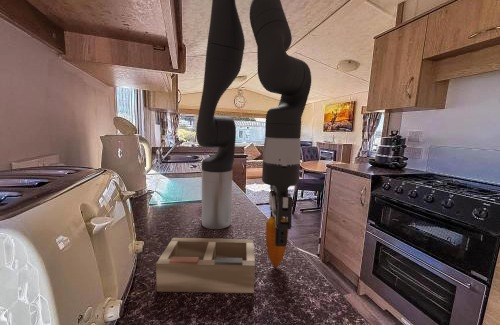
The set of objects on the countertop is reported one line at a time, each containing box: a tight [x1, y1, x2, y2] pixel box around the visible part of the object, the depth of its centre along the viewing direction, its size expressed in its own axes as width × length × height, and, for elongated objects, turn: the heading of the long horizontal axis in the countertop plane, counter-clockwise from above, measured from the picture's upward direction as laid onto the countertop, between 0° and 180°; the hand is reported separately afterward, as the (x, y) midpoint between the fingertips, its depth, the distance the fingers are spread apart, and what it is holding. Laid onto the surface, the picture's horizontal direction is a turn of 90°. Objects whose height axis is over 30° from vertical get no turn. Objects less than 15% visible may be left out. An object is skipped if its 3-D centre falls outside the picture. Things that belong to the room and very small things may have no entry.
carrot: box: [265, 216, 290, 268], centre depth 48 cm, size 5×5×15 cm
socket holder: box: [155, 237, 256, 294], centre depth 45 cm, size 10×18×6 cm, turn 91°
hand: (277, 235), depth 48 cm, fingers open, 8 cm apart
